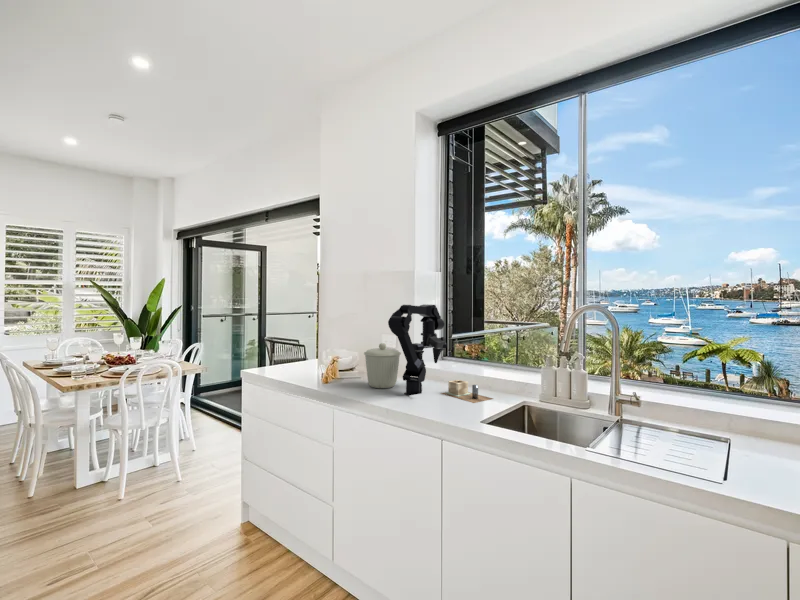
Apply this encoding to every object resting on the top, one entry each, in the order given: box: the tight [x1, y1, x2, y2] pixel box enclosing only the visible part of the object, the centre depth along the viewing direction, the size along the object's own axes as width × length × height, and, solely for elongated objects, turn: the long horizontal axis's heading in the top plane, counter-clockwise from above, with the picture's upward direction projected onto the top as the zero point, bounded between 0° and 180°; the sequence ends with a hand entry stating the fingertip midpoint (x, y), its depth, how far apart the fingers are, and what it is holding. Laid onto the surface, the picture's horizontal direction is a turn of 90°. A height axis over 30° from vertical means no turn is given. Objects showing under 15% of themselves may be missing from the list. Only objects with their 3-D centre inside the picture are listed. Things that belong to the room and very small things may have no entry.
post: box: [471, 384, 479, 399], centre depth 177 cm, size 2×2×6 cm
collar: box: [447, 379, 469, 395], centre depth 185 cm, size 6×6×5 cm
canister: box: [363, 342, 402, 389], centre depth 205 cm, size 18×18×21 cm
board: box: [440, 391, 494, 404], centre depth 181 cm, size 12×20×2 cm, turn 37°
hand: (428, 364), depth 199 cm, fingers open, 9 cm apart
